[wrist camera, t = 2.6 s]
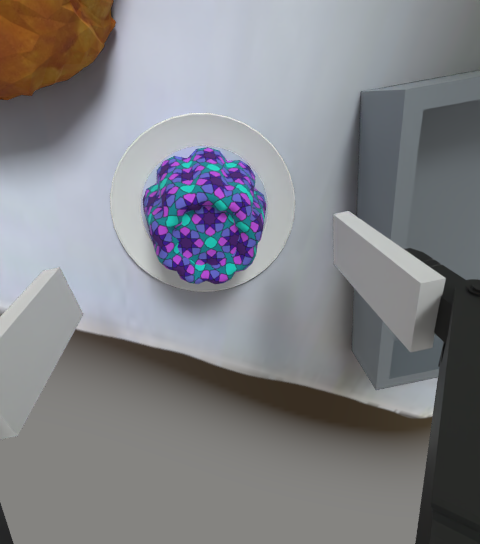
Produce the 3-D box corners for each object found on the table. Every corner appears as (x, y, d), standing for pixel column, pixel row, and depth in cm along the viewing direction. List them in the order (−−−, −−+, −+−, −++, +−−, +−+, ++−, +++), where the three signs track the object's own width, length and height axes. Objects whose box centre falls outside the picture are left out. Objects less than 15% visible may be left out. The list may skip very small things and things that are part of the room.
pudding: (326, 206, 22) (360, 234, 17) (212, 312, 25) (215, 359, 21) (196, 60, 17) (195, 47, 12) (75, 217, 20) (39, 251, 16)
